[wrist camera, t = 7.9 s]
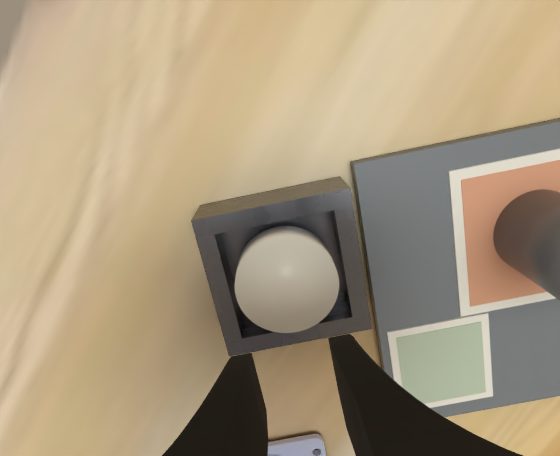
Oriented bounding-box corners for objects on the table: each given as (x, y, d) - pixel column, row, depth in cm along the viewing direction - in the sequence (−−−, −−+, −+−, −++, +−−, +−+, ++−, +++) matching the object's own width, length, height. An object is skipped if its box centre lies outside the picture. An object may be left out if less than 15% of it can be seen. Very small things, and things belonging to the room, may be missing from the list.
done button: (340, 304, 20) (346, 322, 18) (249, 322, 20) (247, 341, 18) (324, 216, 19) (330, 228, 17) (227, 236, 19) (223, 249, 17)
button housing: (360, 302, 22) (371, 328, 20) (233, 327, 22) (229, 356, 20) (340, 176, 20) (350, 188, 18) (200, 205, 20) (191, 220, 18)
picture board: (633, 370, 24) (648, 381, 23) (389, 416, 24) (393, 428, 23) (650, 99, 19) (669, 99, 18) (350, 161, 20) (354, 164, 19)
